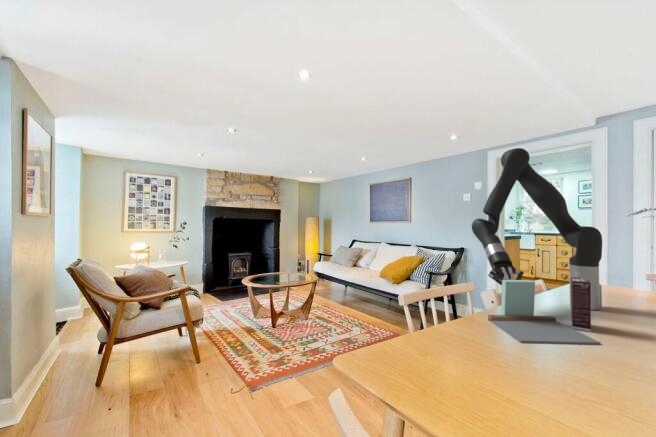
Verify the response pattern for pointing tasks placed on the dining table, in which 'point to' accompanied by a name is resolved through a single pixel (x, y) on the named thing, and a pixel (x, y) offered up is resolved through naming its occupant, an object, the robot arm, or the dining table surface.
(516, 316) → the grey board with ledge
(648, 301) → the dining table surface
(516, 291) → the tile
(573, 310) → the supplement box
